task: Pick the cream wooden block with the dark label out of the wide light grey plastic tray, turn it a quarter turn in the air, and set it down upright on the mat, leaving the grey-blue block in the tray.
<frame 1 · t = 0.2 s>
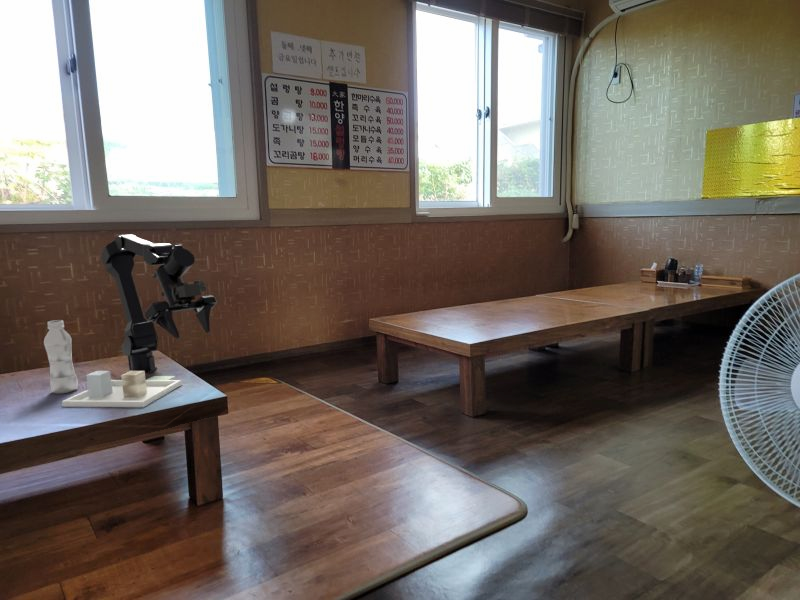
hand: (193, 335, 148), 15 cm above the table, tool tilted 30°, fingers open, 9 cm apart
plastic bottle: (65, 393, 151), on the table
mat: (158, 380, 159), on the table
tray: (125, 396, 146), on the table
labelled block: (135, 394, 145), resting on tray
plain block: (101, 394, 147), resting on tray
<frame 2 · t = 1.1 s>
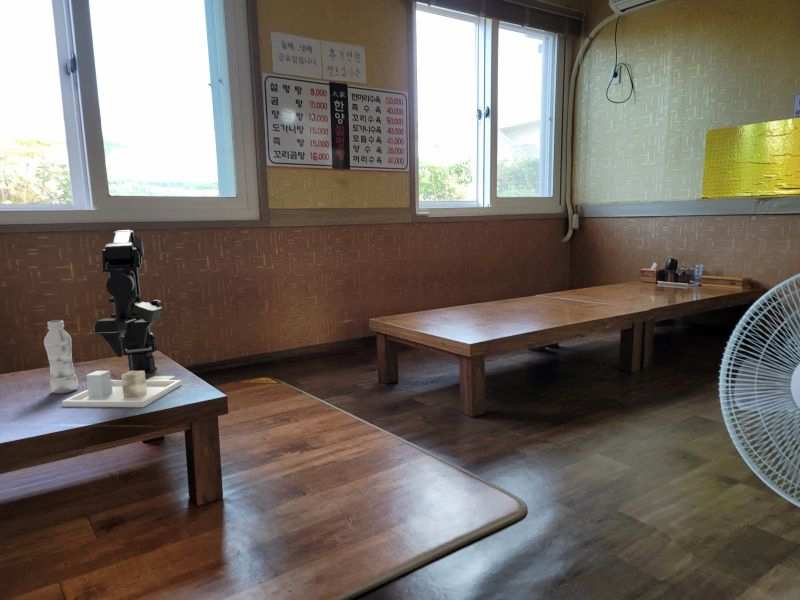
hand: (131, 352, 143), 12 cm above the table, tool pointing down, fingers open, 9 cm apart
nothing on the table moved.
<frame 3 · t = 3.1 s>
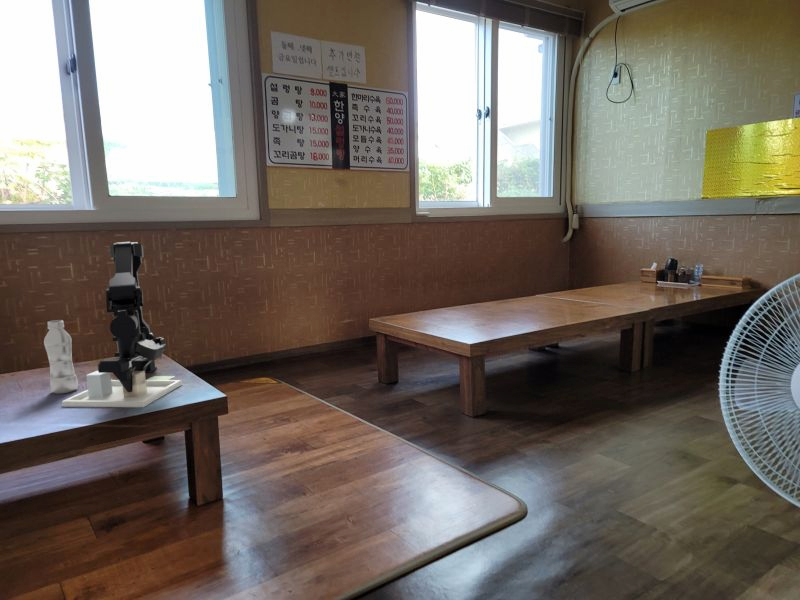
hand: (135, 389, 145), 2 cm above the table, tool pointing down, fingers closed on labelled block, 4 cm apart
labelled block: (135, 394, 145), resting on tray, touching gripper
everything else where it was.
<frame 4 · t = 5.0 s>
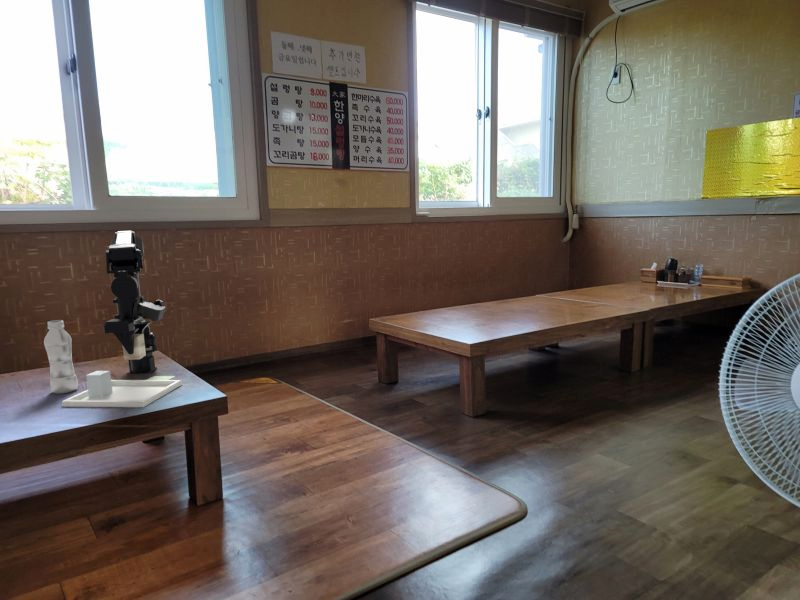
hand: (134, 352, 146), 12 cm above the table, tool pointing down, fingers closed on labelled block, 4 cm apart
labelled block: (135, 357, 146), point 10 cm above the table, touching gripper
everything else where it was.
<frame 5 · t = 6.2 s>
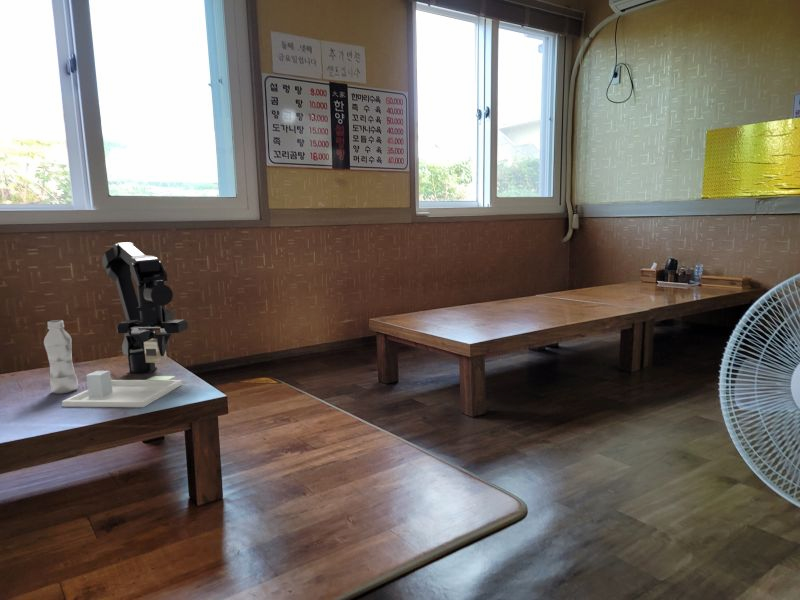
hand: (155, 355, 158), 7 cm above the table, tool pointing down, fingers closed on labelled block, 4 cm apart
labelled block: (156, 360, 158), point 6 cm above the table, touching gripper
everything else where it was.
when the fingers open (3 cm above the table, at t = 7.2 s): labelled block drops 2 cm, resting on mat.
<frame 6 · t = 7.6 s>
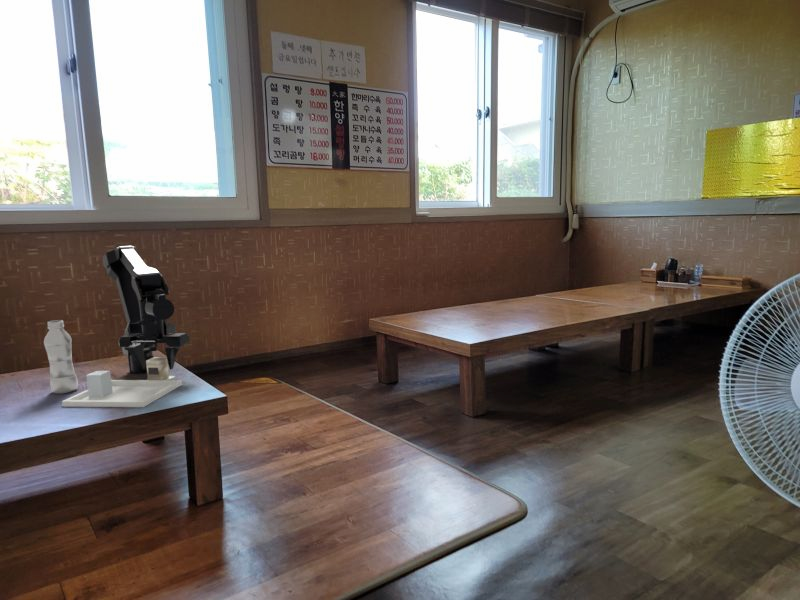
hand: (157, 369, 159), 3 cm above the table, tool pointing down, fingers open, 8 cm apart
labelled block: (158, 379, 159), resting on mat
everything else where it was.
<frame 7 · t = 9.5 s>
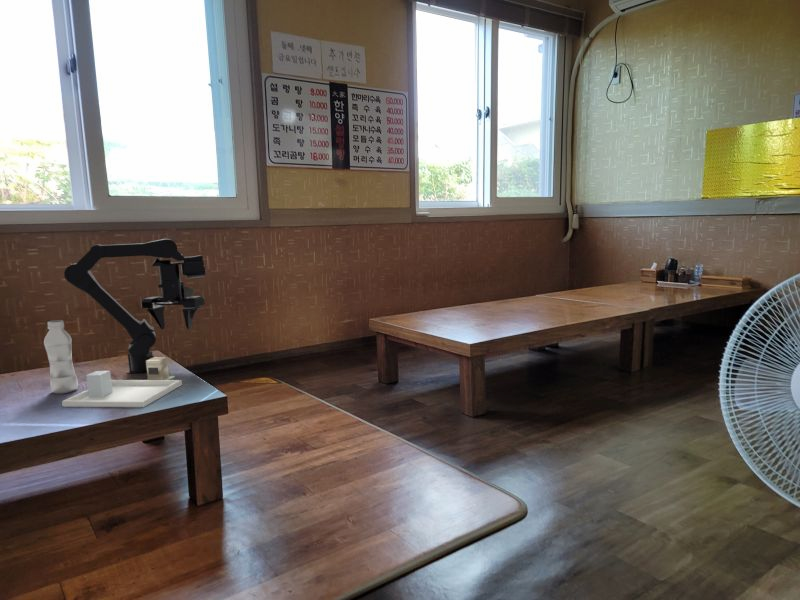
hand: (175, 329, 172), 12 cm above the table, tool pointing down, fingers open, 9 cm apart
nothing on the table moved.
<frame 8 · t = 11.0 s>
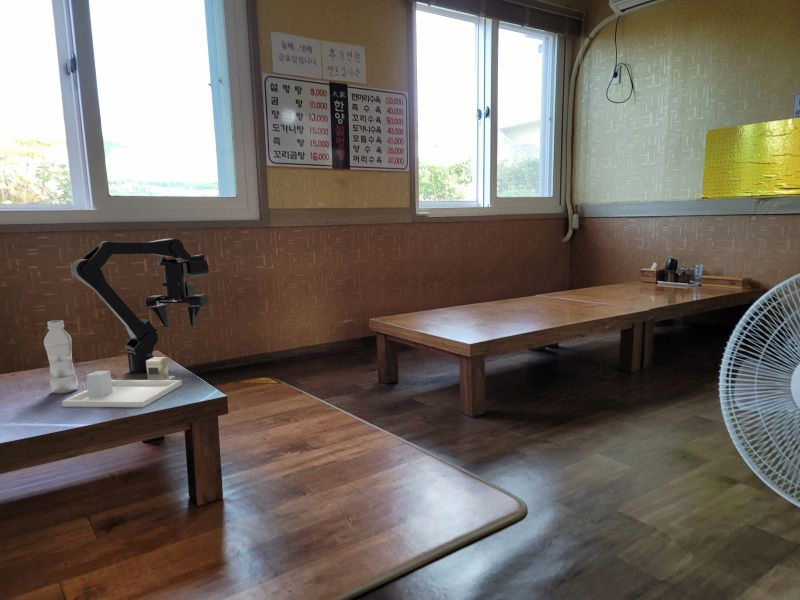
hand: (179, 326, 176), 12 cm above the table, tool pointing down, fingers open, 9 cm apart
nothing on the table moved.
at the end: labelled block 0.0 cm off-centre on the mat, point 0.5 cm above the mat's base; labelled block tilted 0°; plain block moved 0.0 cm from its start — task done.
